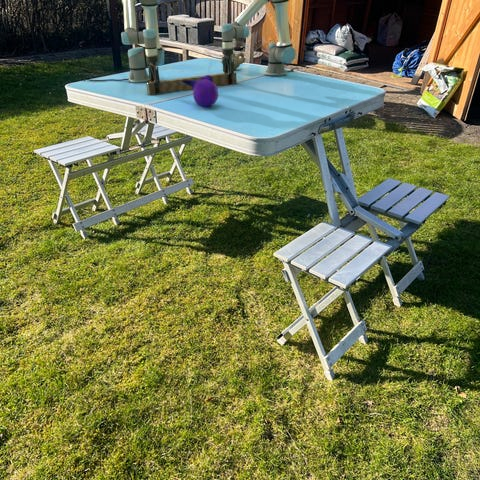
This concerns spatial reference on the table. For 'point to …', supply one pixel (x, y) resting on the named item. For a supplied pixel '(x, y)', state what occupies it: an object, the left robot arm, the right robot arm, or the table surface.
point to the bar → (178, 85)
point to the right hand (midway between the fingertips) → (228, 83)
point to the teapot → (237, 60)
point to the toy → (204, 91)
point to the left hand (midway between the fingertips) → (155, 92)
